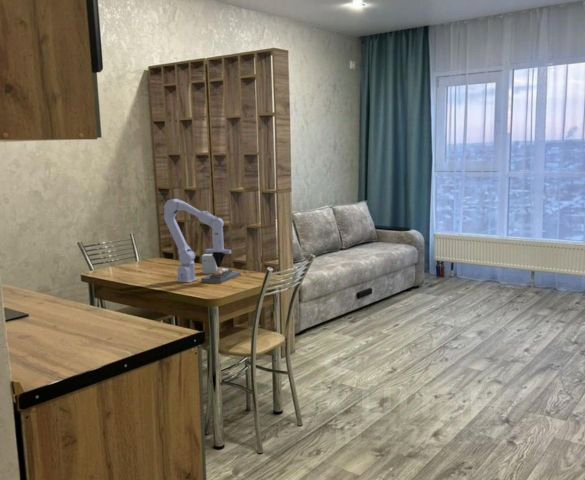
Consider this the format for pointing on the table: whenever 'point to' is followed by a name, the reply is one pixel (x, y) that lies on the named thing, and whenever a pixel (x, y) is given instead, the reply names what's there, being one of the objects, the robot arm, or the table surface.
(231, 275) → the button panel
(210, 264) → the small box
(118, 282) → the table surface
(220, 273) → the clay button
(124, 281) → the table surface
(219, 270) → the cream button
